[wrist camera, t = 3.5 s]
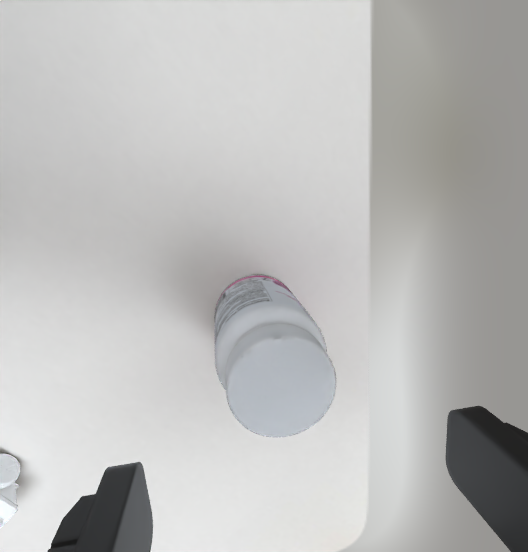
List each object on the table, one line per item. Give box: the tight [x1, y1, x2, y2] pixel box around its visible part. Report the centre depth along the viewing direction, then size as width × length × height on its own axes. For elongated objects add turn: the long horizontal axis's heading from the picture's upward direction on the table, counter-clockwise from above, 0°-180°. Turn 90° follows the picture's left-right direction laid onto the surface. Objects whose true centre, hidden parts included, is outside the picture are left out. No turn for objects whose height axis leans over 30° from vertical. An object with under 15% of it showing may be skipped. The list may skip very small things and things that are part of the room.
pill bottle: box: [215, 275, 336, 437], centre depth 16 cm, size 5×5×8 cm
